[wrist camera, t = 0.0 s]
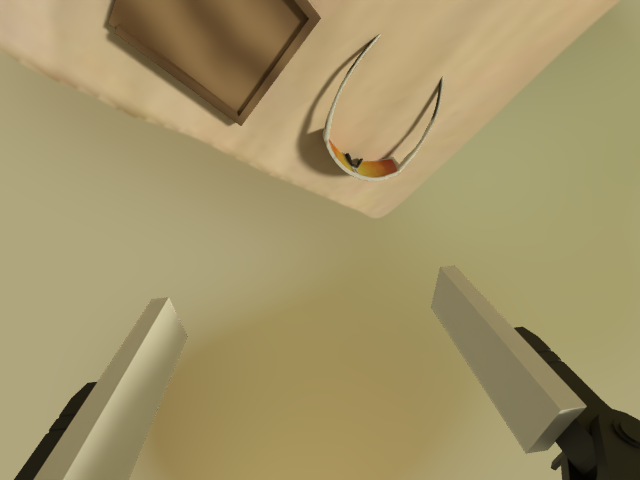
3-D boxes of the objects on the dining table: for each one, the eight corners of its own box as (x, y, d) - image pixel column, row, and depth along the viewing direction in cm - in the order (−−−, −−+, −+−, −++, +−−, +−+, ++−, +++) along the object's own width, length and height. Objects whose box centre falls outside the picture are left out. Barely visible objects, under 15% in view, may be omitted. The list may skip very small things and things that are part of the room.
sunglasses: (305, 147, 37) (311, 162, 33) (357, 22, 29) (371, 24, 25) (384, 177, 42) (396, 192, 39) (445, 79, 34) (468, 88, 31)
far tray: (174, -170, 18) (167, -178, 17) (318, 14, 26) (320, 18, 25) (112, 21, 24) (104, 25, 23) (242, 119, 33) (241, 126, 32)
